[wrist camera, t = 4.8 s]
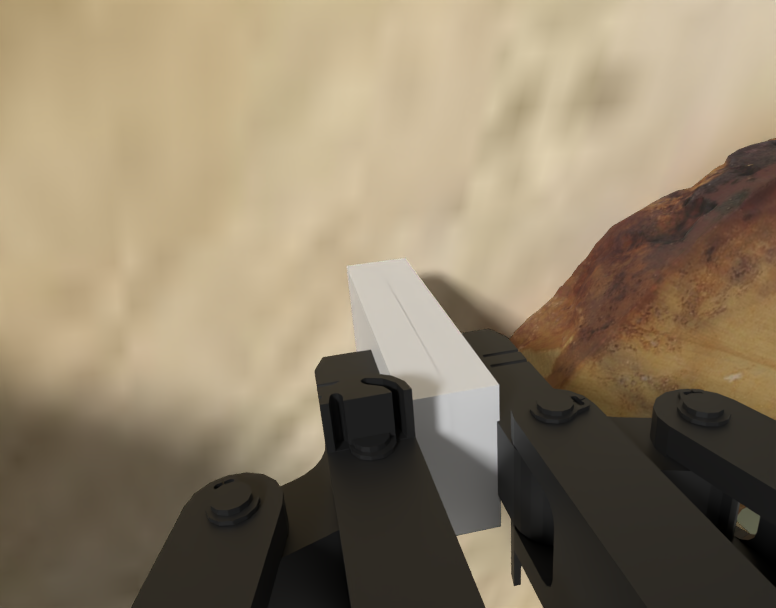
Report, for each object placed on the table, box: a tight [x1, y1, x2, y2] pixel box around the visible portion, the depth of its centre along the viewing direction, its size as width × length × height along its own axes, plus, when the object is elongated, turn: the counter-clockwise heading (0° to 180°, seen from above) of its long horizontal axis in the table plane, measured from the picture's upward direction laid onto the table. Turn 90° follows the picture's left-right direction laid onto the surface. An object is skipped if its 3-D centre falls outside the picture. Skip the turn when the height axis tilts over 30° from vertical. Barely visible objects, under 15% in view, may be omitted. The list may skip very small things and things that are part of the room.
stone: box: [509, 138, 776, 514], centre depth 17 cm, size 15×9×5 cm, turn 132°
